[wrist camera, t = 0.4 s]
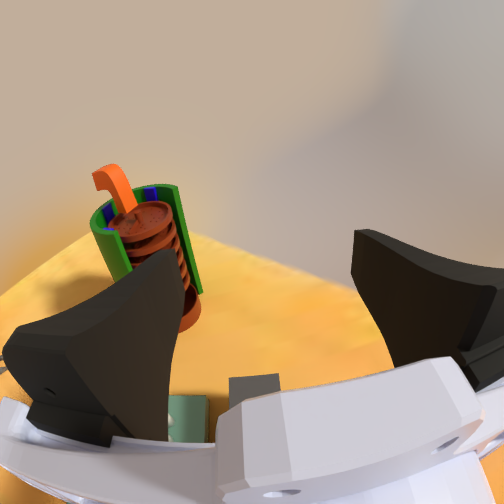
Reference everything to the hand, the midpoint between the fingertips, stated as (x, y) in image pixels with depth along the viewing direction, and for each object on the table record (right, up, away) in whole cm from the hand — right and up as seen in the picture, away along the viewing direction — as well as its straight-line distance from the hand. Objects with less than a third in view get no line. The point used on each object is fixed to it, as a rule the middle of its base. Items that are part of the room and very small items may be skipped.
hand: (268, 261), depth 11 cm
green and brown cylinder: (-12, -8, +25) cm, 28 cm away
